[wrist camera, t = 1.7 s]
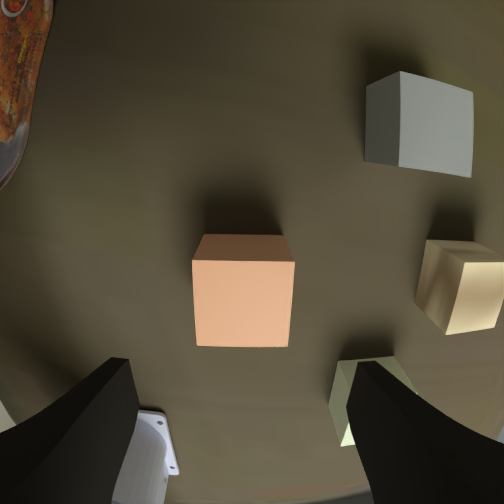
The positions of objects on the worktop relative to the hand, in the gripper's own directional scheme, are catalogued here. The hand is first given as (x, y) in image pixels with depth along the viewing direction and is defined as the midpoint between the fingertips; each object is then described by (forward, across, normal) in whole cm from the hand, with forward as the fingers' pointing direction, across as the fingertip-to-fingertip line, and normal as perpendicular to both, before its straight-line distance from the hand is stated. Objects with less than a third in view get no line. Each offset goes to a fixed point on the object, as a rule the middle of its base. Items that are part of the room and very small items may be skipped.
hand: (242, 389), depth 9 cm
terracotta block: (+10, 0, 0) cm, 10 cm away
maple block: (+10, -14, 0) cm, 17 cm away
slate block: (+10, -9, -9) cm, 16 cm away
